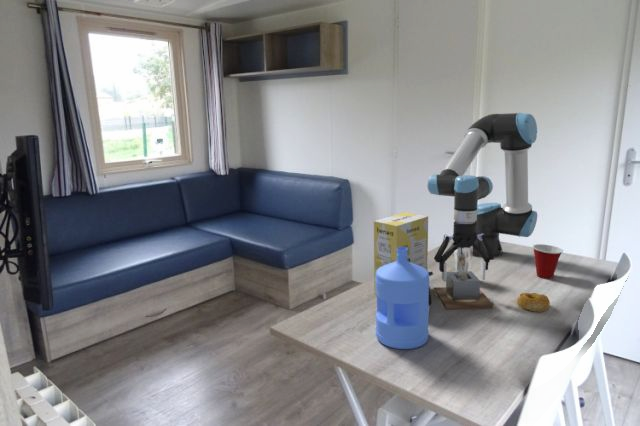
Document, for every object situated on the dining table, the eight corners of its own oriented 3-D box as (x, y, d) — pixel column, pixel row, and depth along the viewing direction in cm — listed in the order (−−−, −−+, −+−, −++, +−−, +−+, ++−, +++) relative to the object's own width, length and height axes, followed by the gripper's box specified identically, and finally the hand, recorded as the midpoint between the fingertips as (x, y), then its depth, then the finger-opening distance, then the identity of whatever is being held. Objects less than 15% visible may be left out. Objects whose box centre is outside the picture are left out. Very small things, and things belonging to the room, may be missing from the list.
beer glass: (469, 275, 180) (470, 240, 177) (473, 282, 173) (474, 245, 170) (451, 275, 181) (452, 240, 177) (455, 282, 174) (456, 245, 171)
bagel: (545, 300, 155) (546, 287, 154) (552, 314, 145) (553, 301, 144) (514, 298, 158) (515, 286, 157) (519, 312, 148) (520, 299, 147)
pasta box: (404, 280, 178) (405, 212, 172) (426, 287, 170) (428, 216, 164) (374, 293, 166) (373, 221, 160) (396, 301, 159) (396, 226, 152)
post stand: (434, 291, 166) (434, 265, 164) (476, 289, 166) (478, 263, 164) (445, 310, 151) (446, 281, 148) (493, 308, 151) (494, 280, 148)
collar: (445, 290, 163) (446, 272, 161) (470, 289, 163) (471, 271, 161) (453, 300, 154) (453, 281, 152) (479, 299, 154) (480, 280, 152)
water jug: (392, 320, 145) (392, 237, 139) (437, 334, 135) (439, 246, 129) (365, 340, 133) (364, 251, 127) (412, 356, 124) (414, 261, 117)
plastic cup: (566, 280, 171) (569, 251, 169) (537, 281, 172) (540, 252, 169) (552, 270, 182) (555, 242, 179) (525, 271, 182) (527, 243, 179)
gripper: (431, 225, 148) (430, 284, 153) (506, 222, 148) (502, 281, 153) (426, 220, 156) (425, 276, 161) (497, 216, 155) (494, 273, 161)
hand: (463, 279), depth 157 cm, fingers open, 13 cm apart
